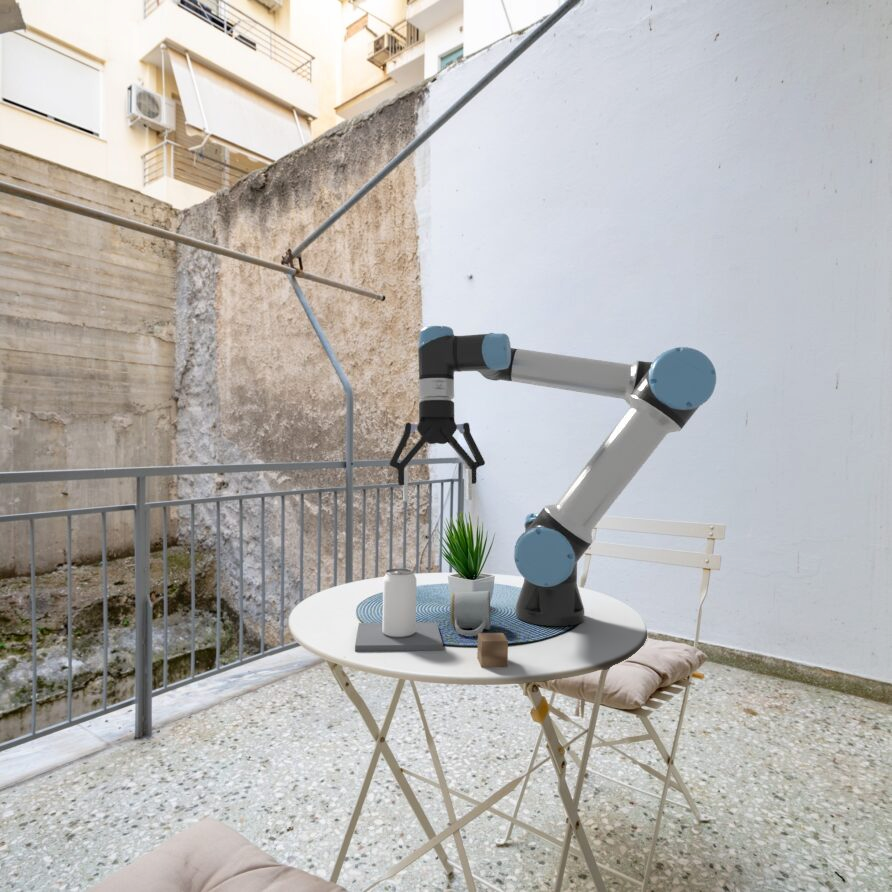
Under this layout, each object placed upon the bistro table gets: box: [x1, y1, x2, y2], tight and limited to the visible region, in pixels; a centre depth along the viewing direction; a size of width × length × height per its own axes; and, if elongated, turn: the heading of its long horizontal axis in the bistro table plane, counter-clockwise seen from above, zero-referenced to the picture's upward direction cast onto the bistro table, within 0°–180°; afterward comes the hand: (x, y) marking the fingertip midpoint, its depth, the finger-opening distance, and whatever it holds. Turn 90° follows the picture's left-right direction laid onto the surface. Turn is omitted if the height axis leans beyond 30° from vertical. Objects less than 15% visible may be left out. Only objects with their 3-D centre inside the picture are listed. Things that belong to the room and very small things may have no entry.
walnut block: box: [476, 632, 509, 668], centre depth 102 cm, size 4×4×4 cm
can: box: [381, 568, 417, 638], centre depth 114 cm, size 6×6×12 cm
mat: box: [354, 621, 444, 652], centre depth 113 cm, size 16×14×1 cm
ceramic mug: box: [450, 590, 491, 637], centre depth 120 cm, size 11×8×8 cm
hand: (437, 500), depth 124 cm, fingers open, 13 cm apart
